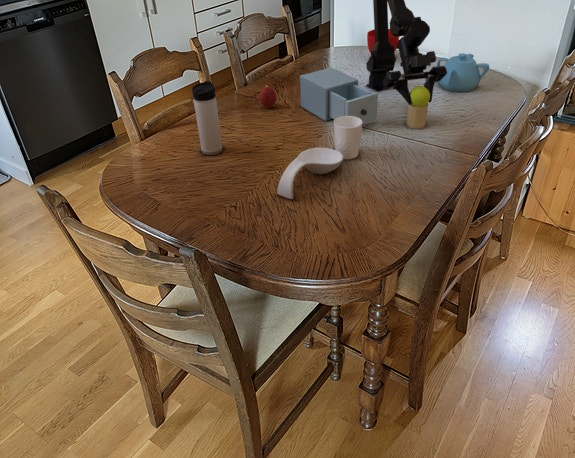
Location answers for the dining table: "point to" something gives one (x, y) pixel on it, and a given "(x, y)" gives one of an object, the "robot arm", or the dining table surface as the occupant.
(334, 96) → the drawer
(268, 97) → the onion
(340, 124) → the white cup
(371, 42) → the ceramic cup
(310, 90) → the cabinet
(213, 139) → the travel mug
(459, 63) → the teapot
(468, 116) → the dining table surface
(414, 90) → the ball
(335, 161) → the spoon rest
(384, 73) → the robot arm
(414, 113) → the stand
